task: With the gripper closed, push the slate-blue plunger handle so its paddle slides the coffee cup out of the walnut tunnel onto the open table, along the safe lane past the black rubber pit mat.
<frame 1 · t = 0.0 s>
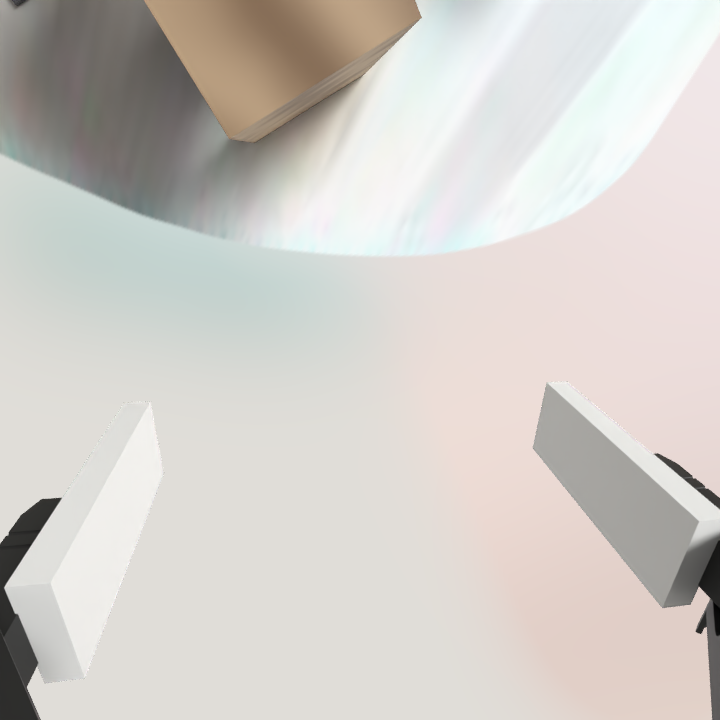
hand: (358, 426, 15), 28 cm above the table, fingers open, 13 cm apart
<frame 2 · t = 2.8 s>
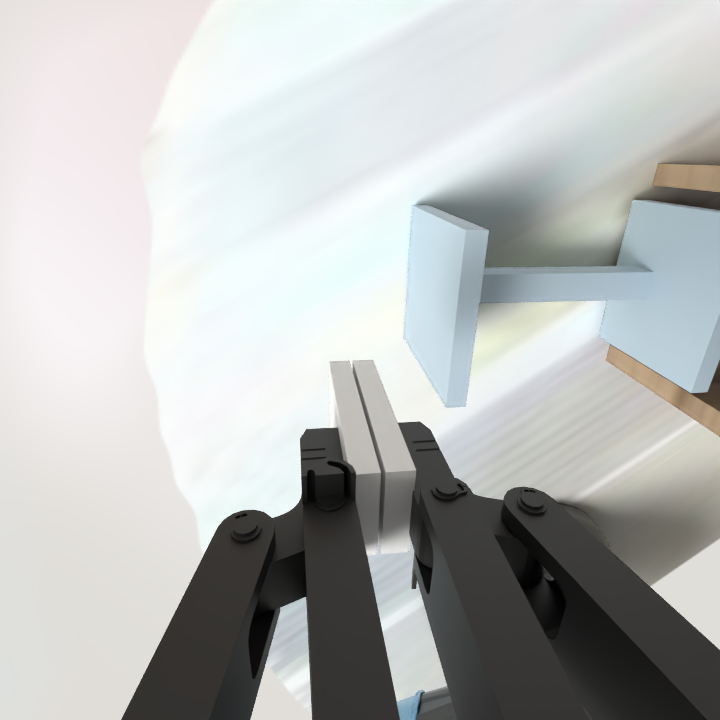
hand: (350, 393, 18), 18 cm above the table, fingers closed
tunnel: (685, 269, 38), on the table
plunger: (558, 293, 31), point 6 cm above the table, slide at 0.0 cm
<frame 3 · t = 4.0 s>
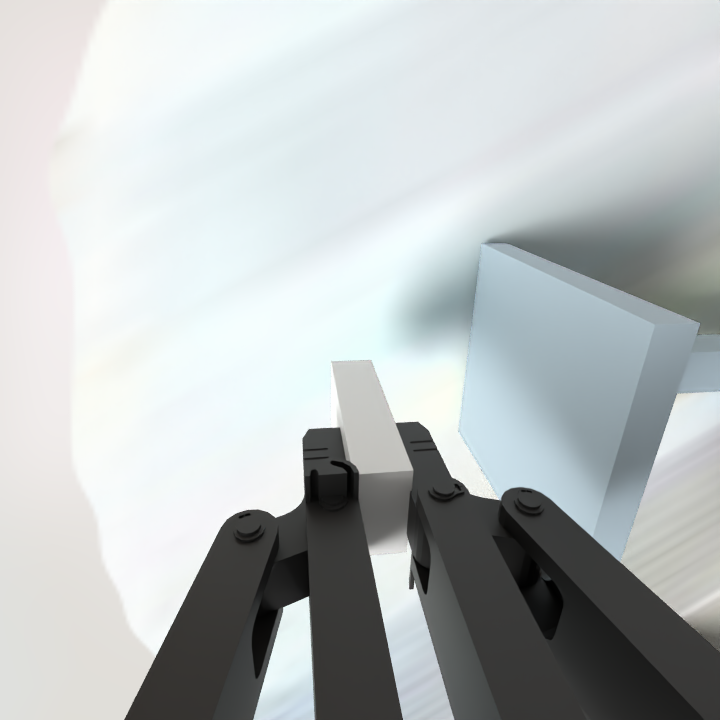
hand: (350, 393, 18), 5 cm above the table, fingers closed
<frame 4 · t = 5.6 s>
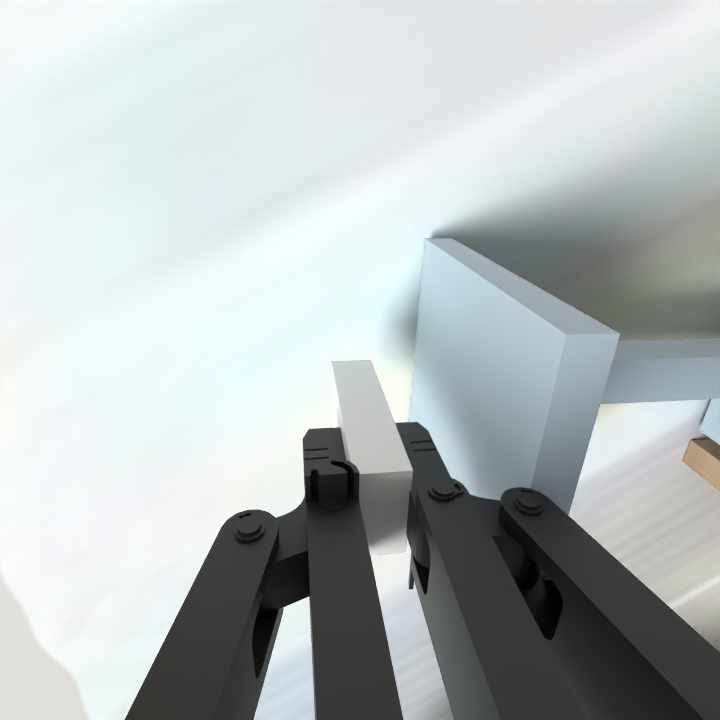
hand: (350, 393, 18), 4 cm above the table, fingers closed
plunger: (679, 398, 18), point 6 cm above the table, slide at 1.4 cm, touching gripper
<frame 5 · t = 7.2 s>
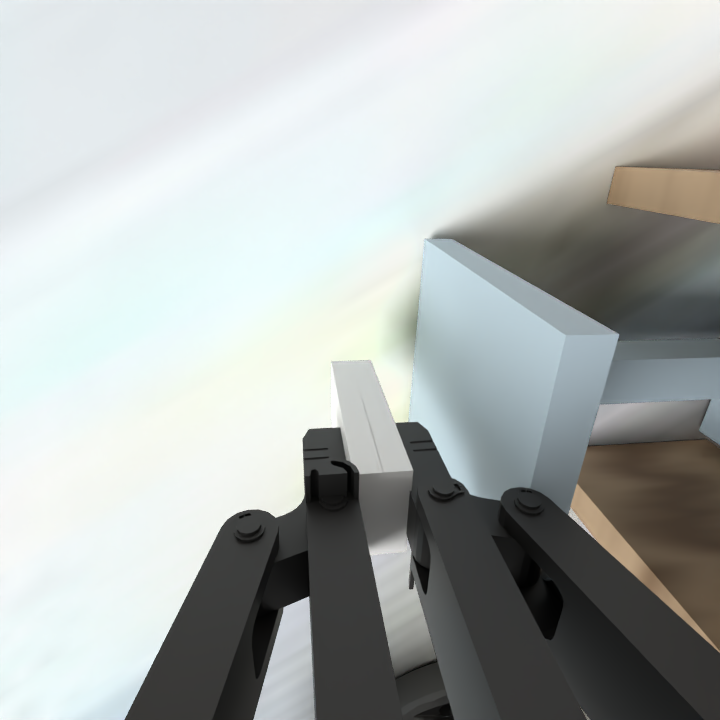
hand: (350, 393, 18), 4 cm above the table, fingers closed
tunnel: (663, 338, 24), on the table
plunger: (679, 399, 18), point 6 cm above the table, slide at 10.4 cm, touching coffee cup, gripper
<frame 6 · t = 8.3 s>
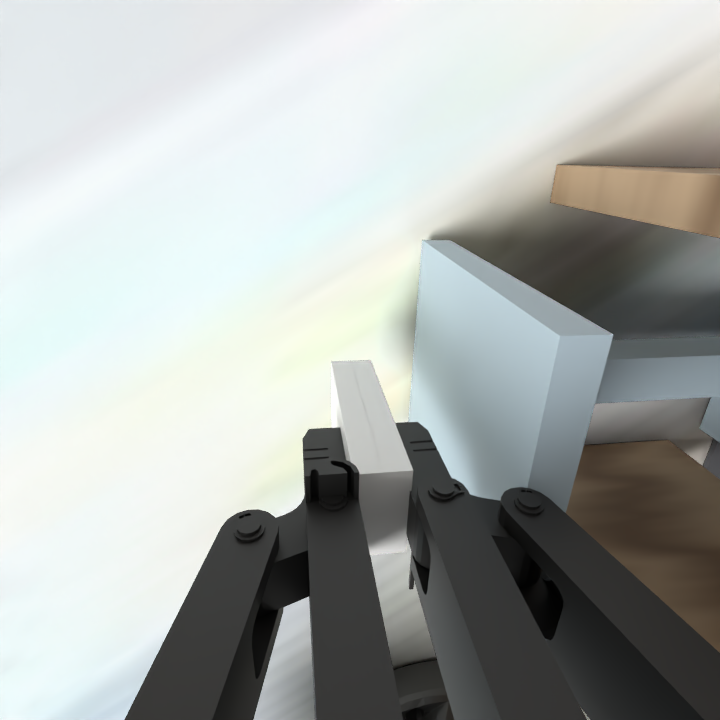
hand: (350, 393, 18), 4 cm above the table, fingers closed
tunnel: (617, 338, 23), on the table
plunger: (677, 397, 18), point 6 cm above the table, slide at 12.9 cm, touching coffee cup, gripper
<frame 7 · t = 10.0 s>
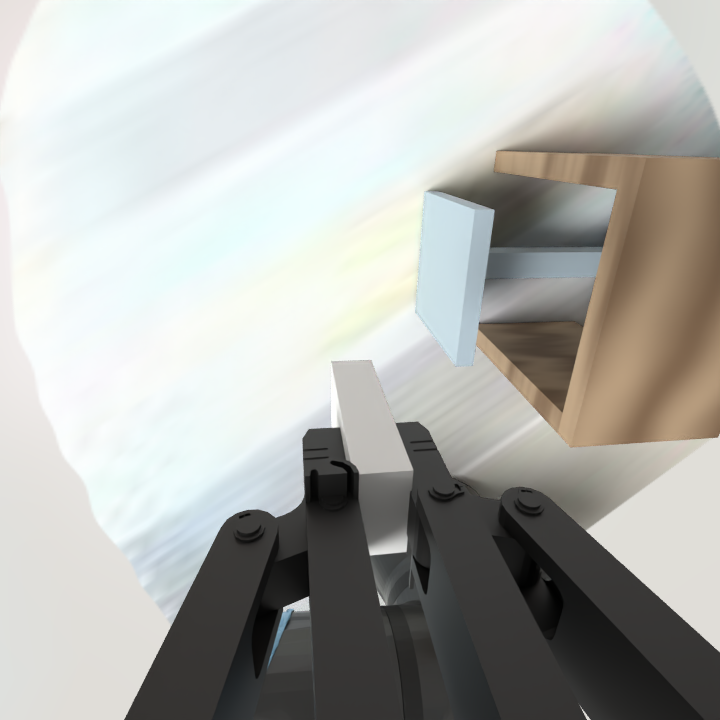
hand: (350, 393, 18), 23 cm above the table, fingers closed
tunnel: (537, 252, 40), on the table
plunger: (555, 270, 35), point 6 cm above the table, slide at 12.9 cm, touching coffee cup
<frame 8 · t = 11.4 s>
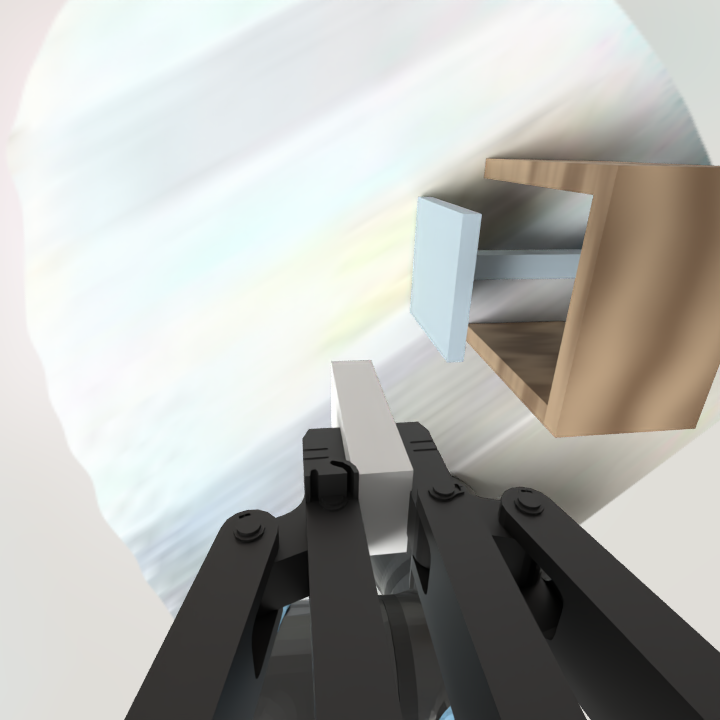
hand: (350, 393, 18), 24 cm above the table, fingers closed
tunnel: (526, 255, 42), on the table
plunger: (542, 271, 36), point 6 cm above the table, slide at 12.9 cm, touching coffee cup
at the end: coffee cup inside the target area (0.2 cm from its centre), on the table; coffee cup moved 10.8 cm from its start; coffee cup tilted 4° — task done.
